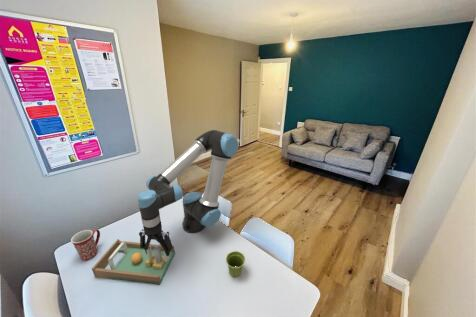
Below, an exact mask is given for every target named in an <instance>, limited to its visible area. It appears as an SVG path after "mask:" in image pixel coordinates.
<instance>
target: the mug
mask: <svg viewBox="0 0 476 317" xmlns="http://www.w3.org/2000/svg"><path fill="white" fill-rule="evenodd" d="M95 233H96V238H95V237H94V235H95ZM100 238H101V232H100V229H97V228H95V229H93V230H91V229H84V230H81V231H79V232H76V233H75V234H74V235H73V236H72V237H71V239H70V241H71V243H72V245H73V246H74V248H75V250H76V252H77V254H78V256H79V257H80V259H81V261H90V260H92V259H93V258H95V257H96V256H97V254H98V249H97V248H98V244H99V241H100Z"/></svg>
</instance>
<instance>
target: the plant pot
mask: <svg viewBox="0 0 476 317" xmlns="http://www.w3.org/2000/svg"><path fill="white" fill-rule="evenodd" d="M225 263H226V264H227V268H228V274H230V276H231V277H233V278H237V277H240V276H241V274H242V270H243V267H244V265H245V264H246V256H245V255H244V254H243V252H241V251H237V250H235V251H231V252H229V253H228V254H227V255H226V257H225ZM235 266H236V267H235Z"/></svg>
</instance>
